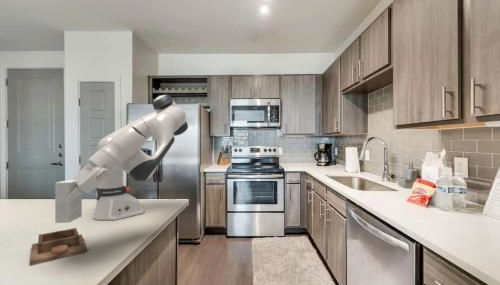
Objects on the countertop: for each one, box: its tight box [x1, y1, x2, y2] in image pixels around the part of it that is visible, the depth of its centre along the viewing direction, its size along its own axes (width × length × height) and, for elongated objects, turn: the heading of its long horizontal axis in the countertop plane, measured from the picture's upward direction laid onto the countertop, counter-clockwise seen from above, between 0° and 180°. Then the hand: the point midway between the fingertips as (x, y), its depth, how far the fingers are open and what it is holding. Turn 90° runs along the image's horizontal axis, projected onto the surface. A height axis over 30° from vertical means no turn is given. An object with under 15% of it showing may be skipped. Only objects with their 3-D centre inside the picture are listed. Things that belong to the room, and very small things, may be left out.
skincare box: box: [54, 179, 83, 224], centre depth 75 cm, size 6×4×12 cm
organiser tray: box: [29, 227, 88, 266], centre depth 81 cm, size 14×16×4 cm
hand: (66, 198), depth 74 cm, fingers closed on skincare box, 7 cm apart
